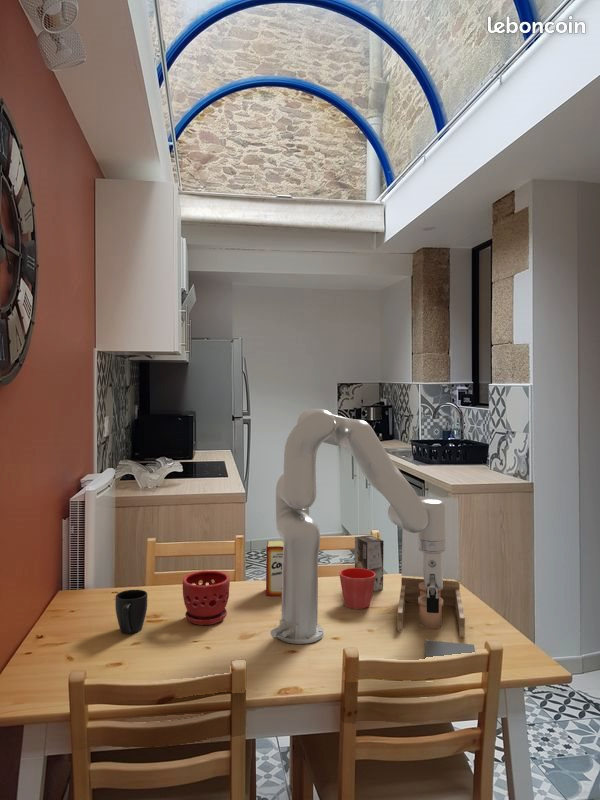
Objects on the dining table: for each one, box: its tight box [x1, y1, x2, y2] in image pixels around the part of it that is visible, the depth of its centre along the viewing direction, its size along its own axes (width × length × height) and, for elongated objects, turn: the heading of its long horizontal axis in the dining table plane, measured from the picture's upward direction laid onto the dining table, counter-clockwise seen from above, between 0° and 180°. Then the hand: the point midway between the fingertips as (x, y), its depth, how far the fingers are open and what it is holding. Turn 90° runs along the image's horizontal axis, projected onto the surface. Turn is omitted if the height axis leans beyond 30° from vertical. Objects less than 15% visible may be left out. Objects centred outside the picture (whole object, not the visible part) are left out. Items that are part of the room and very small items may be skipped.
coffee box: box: [354, 534, 385, 591], centre depth 193 cm, size 9×6×16 cm
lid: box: [401, 495, 460, 581], centre depth 183 cm, size 25×17×2 cm
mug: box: [114, 589, 148, 635], centre depth 153 cm, size 8×12×10 cm
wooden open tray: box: [397, 576, 466, 638], centre depth 166 cm, size 25×17×7 cm
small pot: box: [417, 595, 444, 630], centre depth 160 cm, size 7×7×7 cm
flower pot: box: [339, 567, 376, 610], centre depth 175 cm, size 11×11×10 cm
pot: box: [419, 582, 442, 597], centre depth 173 cm, size 7×7×7 cm
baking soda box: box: [265, 540, 284, 597], centre depth 186 cm, size 10×6×16 cm
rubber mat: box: [424, 639, 476, 658], centre depth 142 cm, size 12×12×1 cm
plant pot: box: [182, 570, 231, 626], centre depth 162 cm, size 13×13×12 cm
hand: (432, 606), depth 161 cm, fingers open, 9 cm apart
